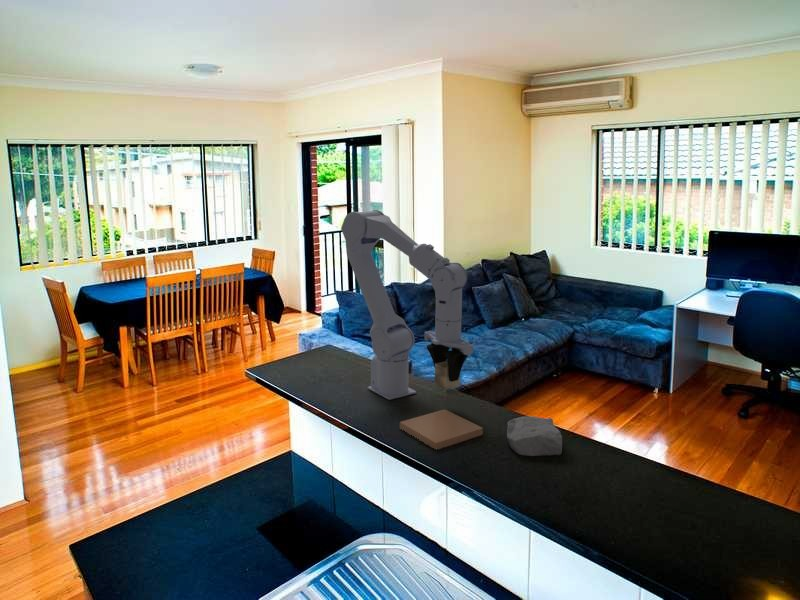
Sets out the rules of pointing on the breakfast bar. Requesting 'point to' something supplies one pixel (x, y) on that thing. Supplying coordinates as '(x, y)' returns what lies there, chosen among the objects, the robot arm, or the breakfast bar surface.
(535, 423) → the stone block
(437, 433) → the terracotta tile
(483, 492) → the breakfast bar surface
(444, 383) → the birch block
